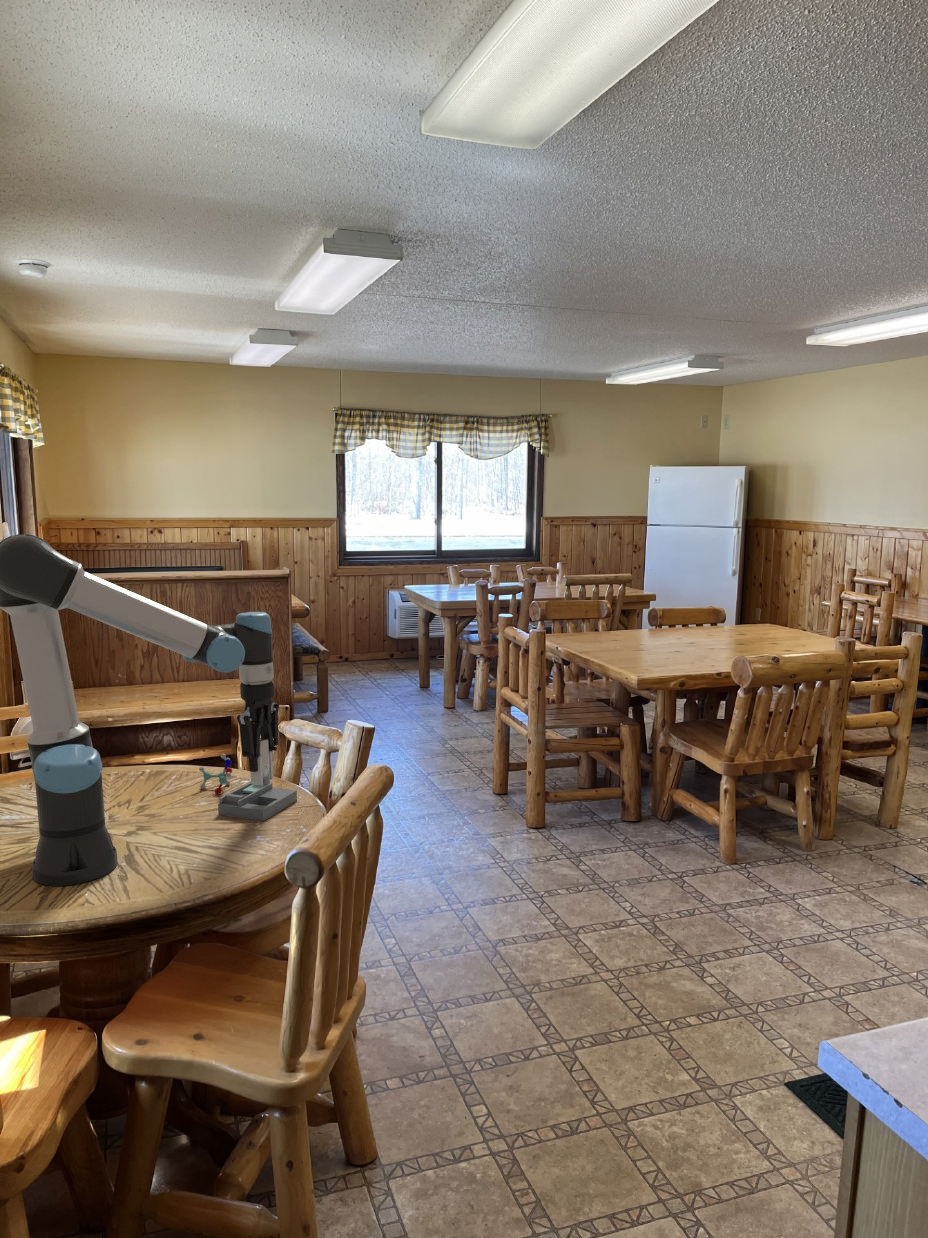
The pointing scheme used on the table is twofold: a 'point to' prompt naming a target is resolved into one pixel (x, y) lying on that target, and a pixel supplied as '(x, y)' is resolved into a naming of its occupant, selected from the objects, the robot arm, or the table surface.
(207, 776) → the molecular model
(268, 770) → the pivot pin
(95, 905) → the table surface
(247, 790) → the lid
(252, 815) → the housing
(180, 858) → the table surface
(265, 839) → the table surface
